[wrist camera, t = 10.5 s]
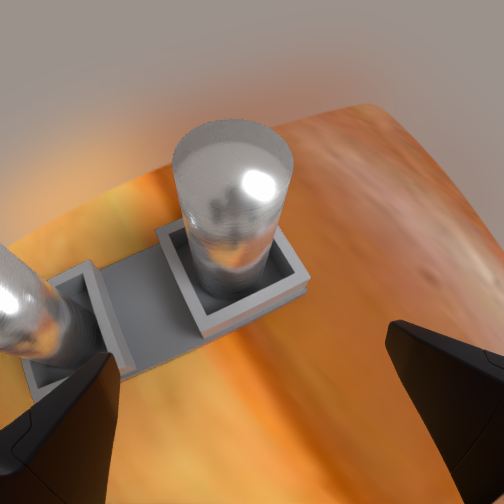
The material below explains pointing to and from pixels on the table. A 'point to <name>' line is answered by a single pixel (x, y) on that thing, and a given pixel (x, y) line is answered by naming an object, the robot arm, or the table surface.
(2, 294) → the billet
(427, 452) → the table surface
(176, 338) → the grey socket holder
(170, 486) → the table surface
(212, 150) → the cylinder
